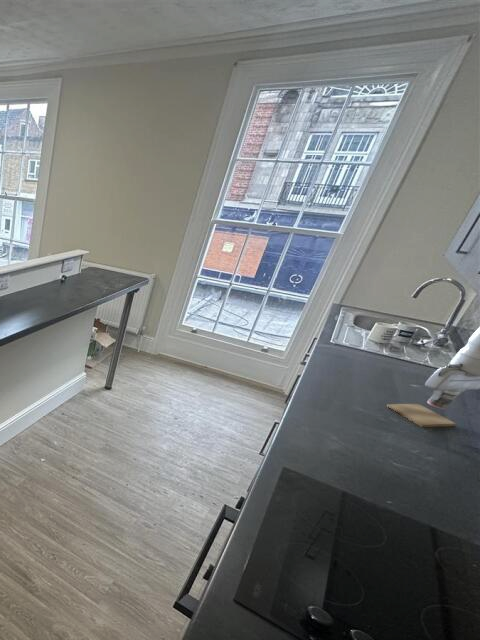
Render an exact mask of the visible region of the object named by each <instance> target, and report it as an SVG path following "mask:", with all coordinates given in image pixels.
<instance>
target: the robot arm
mask: <svg viewBox="0 0 480 640" xmlns="http://www.w3.org/2000/svg"><path fill="white" fill-rule="evenodd" d="M424 386H425V387H426V388H428V389H431V390H433V394H432V395H431V396H430V398H432V399H434V400H440V399H441V398H442V397H443V396H442V394H443V392H445V391H446V390H456V389H458V388H461V390H460V391H458V395H457V396H456V397H455V398H454V399H453V400H455V399H456V398H457V397H458V396H460V395H461V394H463V393H464V392H465V391H475V390H476V391H477V390H480V326H479V327H478V328H476V330H475V331H474V332H473V333H472V335H471V336H470V337H469V339H468V340H467V342H466V344H465V345H464V346H463V347H461V348H460V350H458V351H457V353H456V354H455V355H454V356H453V357H452V359H451V360H450V362H449V364H447V365H446V366H441V367H439V368H438V369H436V370H435V371H434V372H433V373H432V374H431V375H430V376H429V378H428V379H427V380H426V381H425V383H424Z"/></svg>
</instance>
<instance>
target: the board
mask: <svg viewBox="0 0 480 640" xmlns="http://www.w3.org/2000/svg"><path fill="white" fill-rule="evenodd" d="M386 406H387V407H386V408H387V409H389V408H391V409H393V410H394V411H393V410H392V411H393V412H394V413H396V412H398V413H400V414H401V415H400V414H399V415H400V416H401V417H403V418H405V417H406V418H405V419H407V418H408V419H407V420H408V421H409V422H410V421H411V422H412V421H413V422H412V423H414V424H416V425H417V426H419V427H421V428H431V427H433V428H435V427H454V426H455V425H457V423H456V422H454V421H452V420H450V419H448V418H446V417H445V416H443V415H440V414H439V413H437V412H435V411H434V410H431V409H429V408H427V407H426V406H424V405H422V404H420V403H394V404H393V403H392V404H386ZM388 407H389V408H388ZM391 409H390V410H391ZM395 411H396V412H395ZM398 413H397V414H398ZM402 415H403V416H402Z"/></svg>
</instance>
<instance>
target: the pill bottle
mask: <svg viewBox="0 0 480 640" xmlns="http://www.w3.org/2000/svg"><path fill="white" fill-rule="evenodd" d="M460 390H461V388H458V389H456V390H446V391H445V392H443V394H442V396H443V397H442V398H441V399H440V400H434V399H432V398H431V397H430V398H429V399H428V400H427V401H426V402H427V404H428V405H430V406H431V407H433V408H437V409H442V410H444V409H447V407H448V406H450V404H451V403H452V402H453V401H454V400H455V399H456V398H457V397H458V396H459V395H458V391H460ZM457 395H458V396H457ZM455 397H456V398H455ZM454 398H455V399H454Z"/></svg>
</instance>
